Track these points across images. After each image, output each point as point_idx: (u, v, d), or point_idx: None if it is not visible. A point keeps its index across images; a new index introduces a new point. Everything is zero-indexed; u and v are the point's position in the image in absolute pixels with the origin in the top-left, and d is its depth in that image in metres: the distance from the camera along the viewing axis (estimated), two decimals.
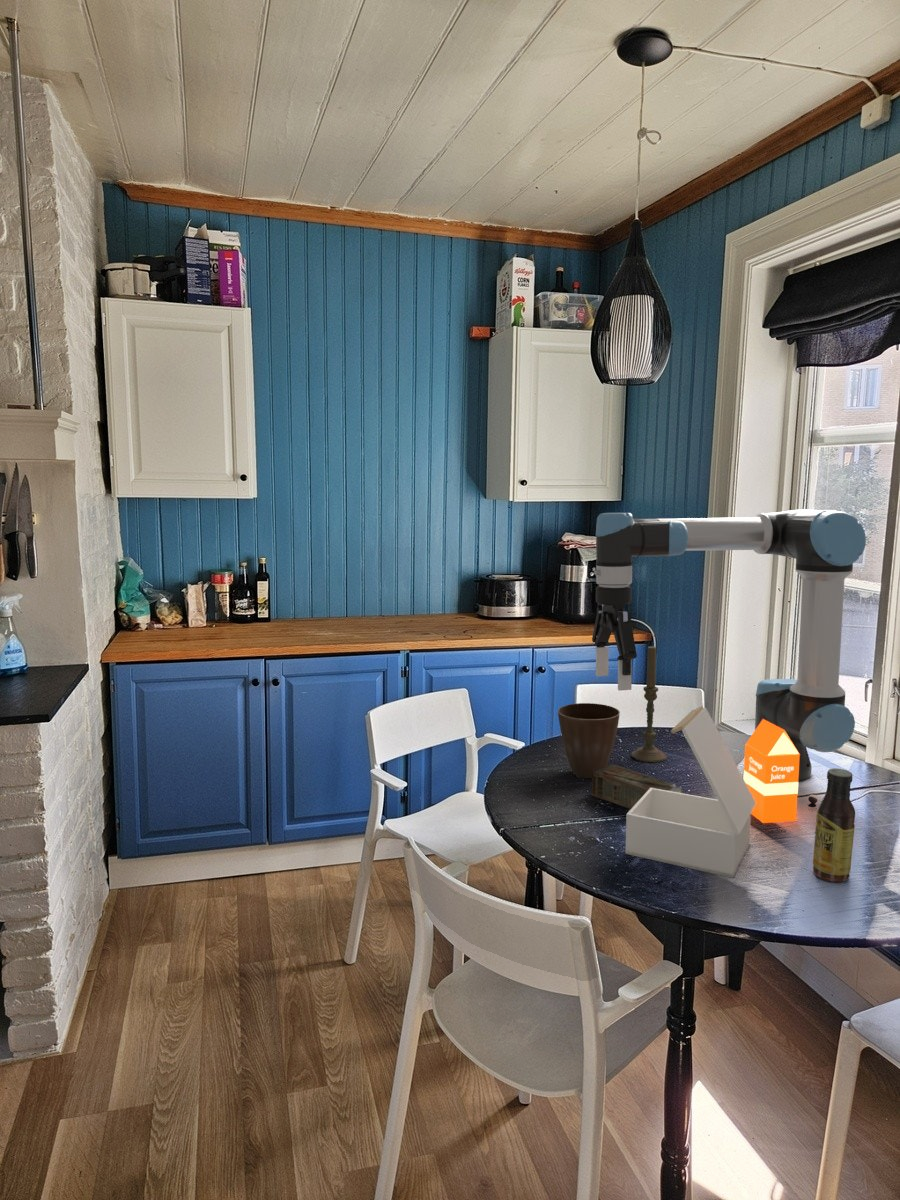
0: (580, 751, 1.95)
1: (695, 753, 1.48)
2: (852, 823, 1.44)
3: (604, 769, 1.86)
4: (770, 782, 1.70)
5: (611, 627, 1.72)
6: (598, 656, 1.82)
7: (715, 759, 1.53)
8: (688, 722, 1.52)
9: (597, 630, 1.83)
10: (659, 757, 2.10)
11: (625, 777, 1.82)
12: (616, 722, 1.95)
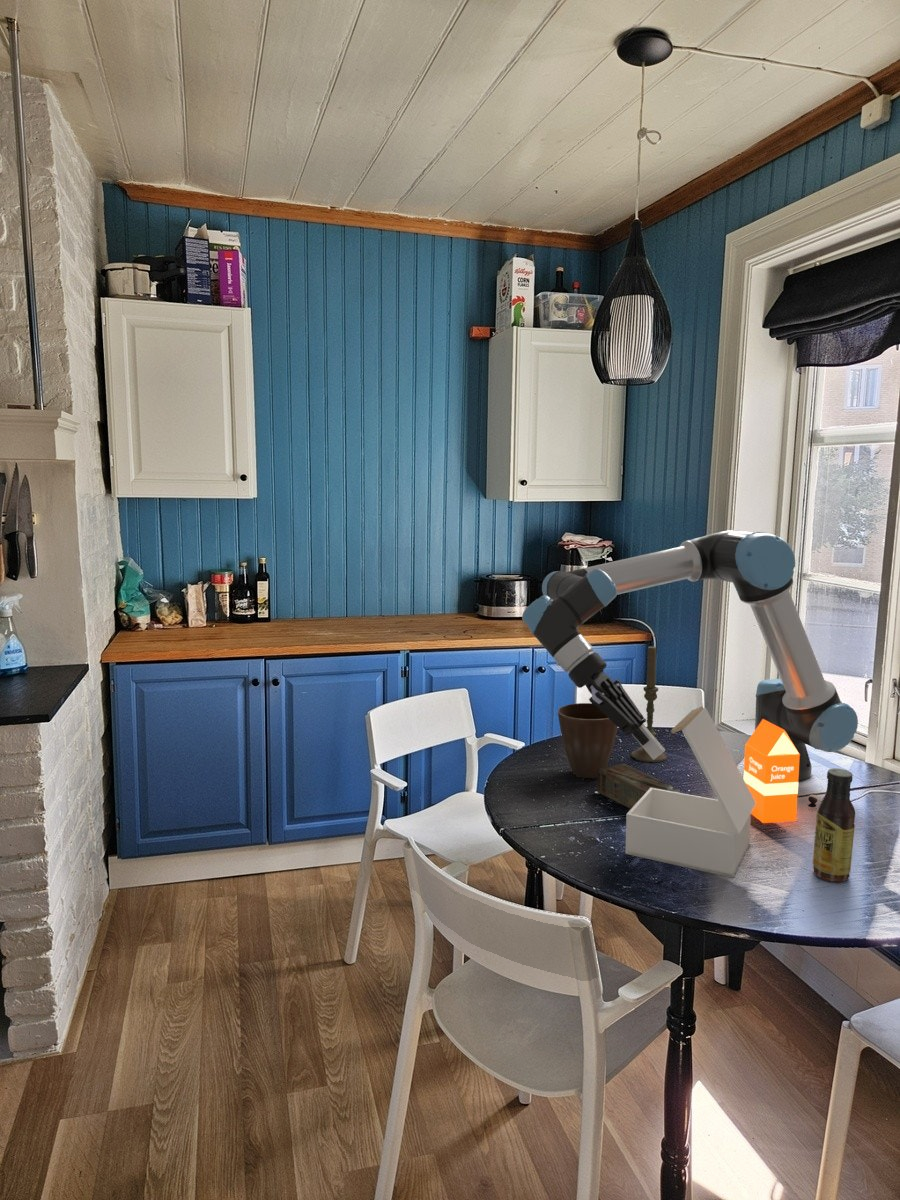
0: (580, 751, 1.95)
1: (695, 753, 1.48)
2: (852, 823, 1.44)
3: (610, 767, 1.88)
4: (770, 782, 1.70)
5: None
6: None
7: (715, 759, 1.53)
8: (688, 722, 1.52)
9: None
10: (659, 757, 2.10)
11: (627, 776, 1.83)
12: None
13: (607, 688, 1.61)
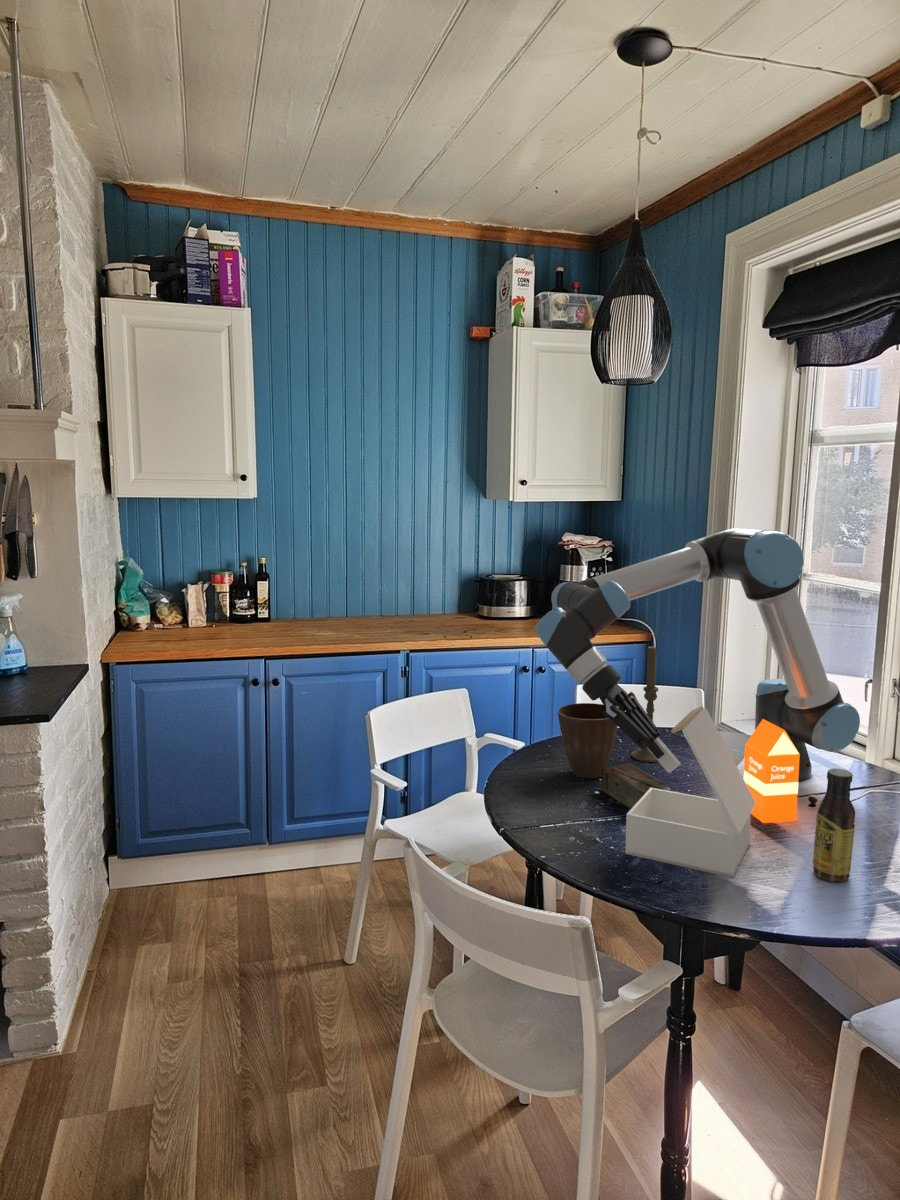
0: (580, 751, 1.95)
1: (695, 753, 1.48)
2: (852, 823, 1.44)
3: (615, 766, 1.89)
4: (770, 782, 1.70)
5: None
6: None
7: (715, 759, 1.53)
8: (688, 722, 1.52)
9: None
10: None
11: (628, 775, 1.83)
12: None
13: (621, 701, 1.60)
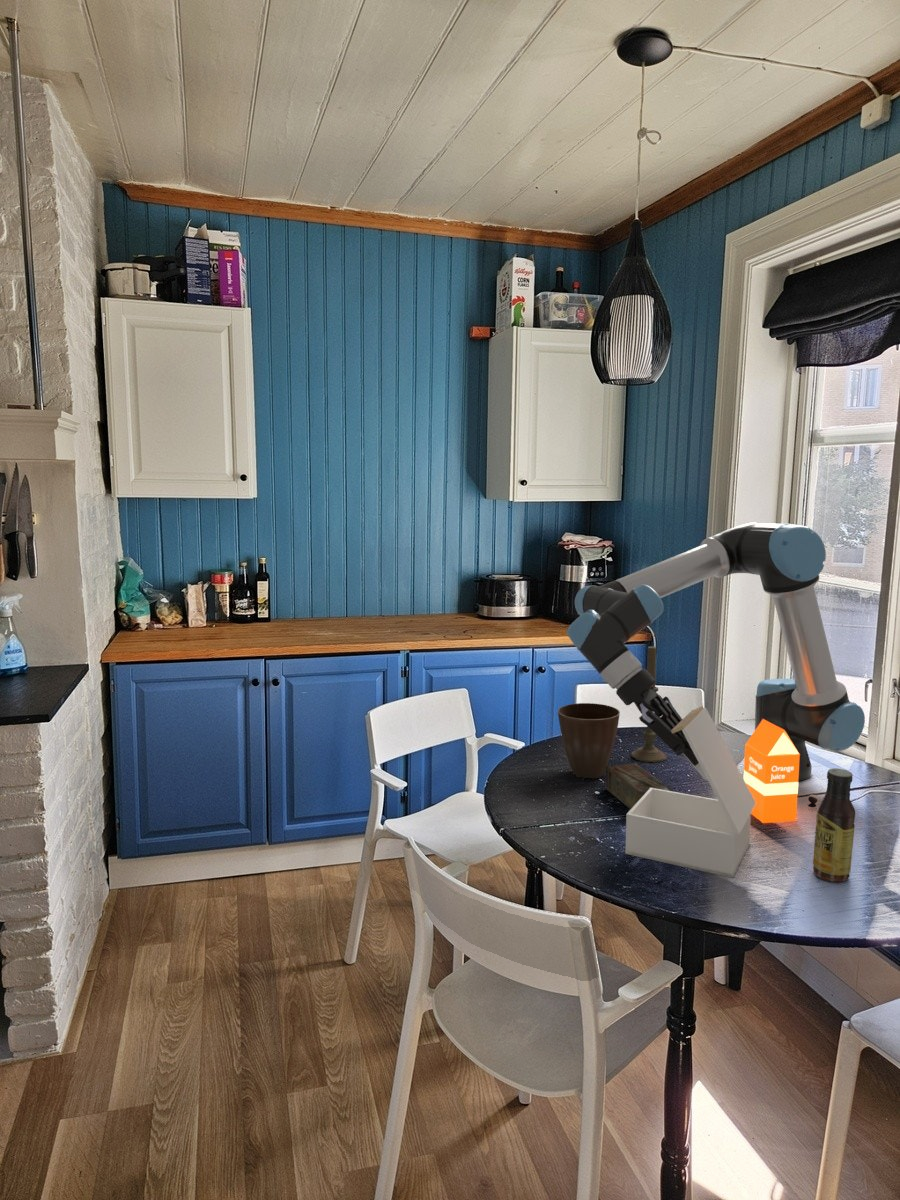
0: (580, 751, 1.95)
1: (695, 753, 1.48)
2: (852, 823, 1.44)
3: (619, 765, 1.89)
4: (770, 782, 1.70)
5: None
6: None
7: (715, 759, 1.53)
8: (688, 722, 1.52)
9: None
10: (659, 757, 2.10)
11: (629, 775, 1.83)
12: (616, 722, 1.95)
13: (657, 706, 1.56)
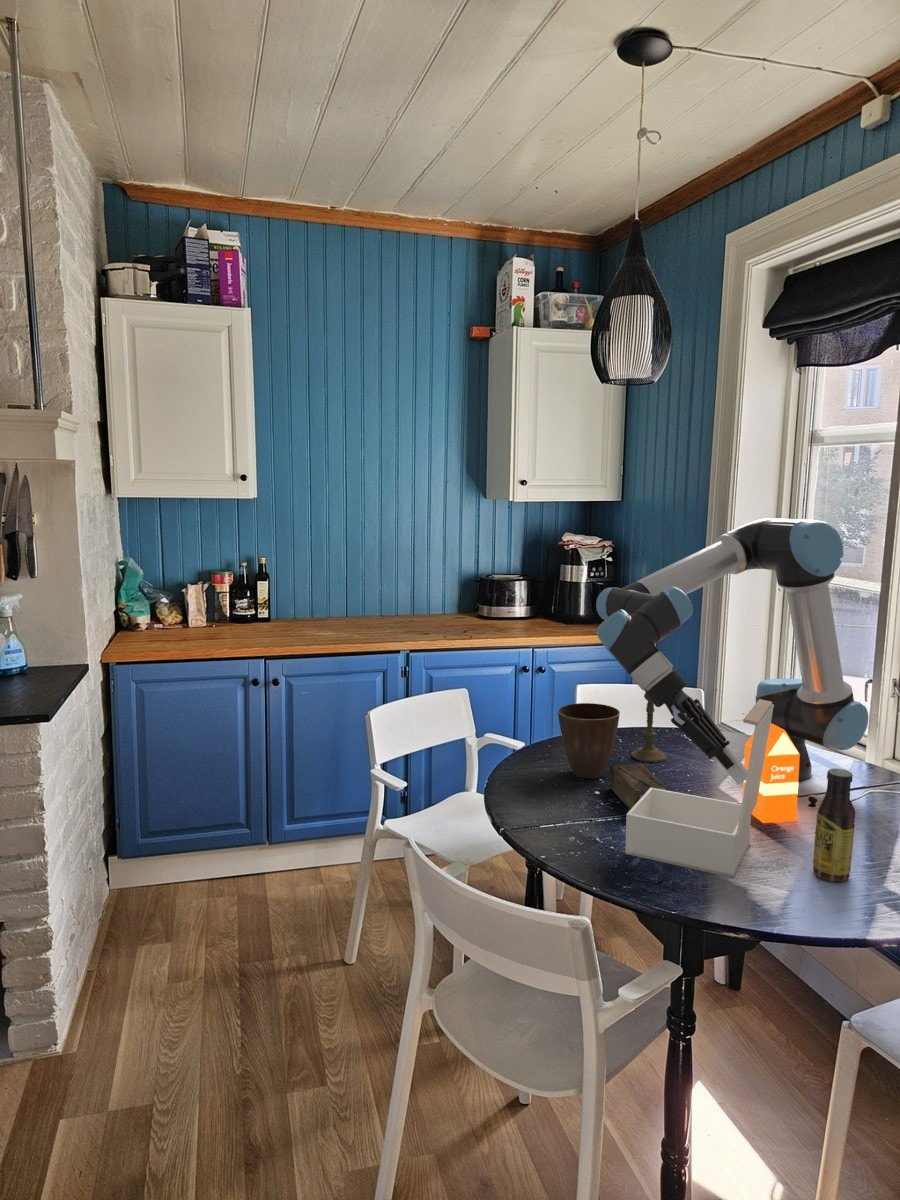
0: (580, 751, 1.95)
1: (752, 751, 1.43)
2: (852, 823, 1.44)
3: (624, 765, 1.89)
4: (770, 782, 1.70)
5: None
6: None
7: (758, 759, 1.49)
8: (761, 718, 1.45)
9: None
10: (659, 757, 2.10)
11: (631, 775, 1.83)
12: (616, 722, 1.95)
13: (689, 708, 1.53)
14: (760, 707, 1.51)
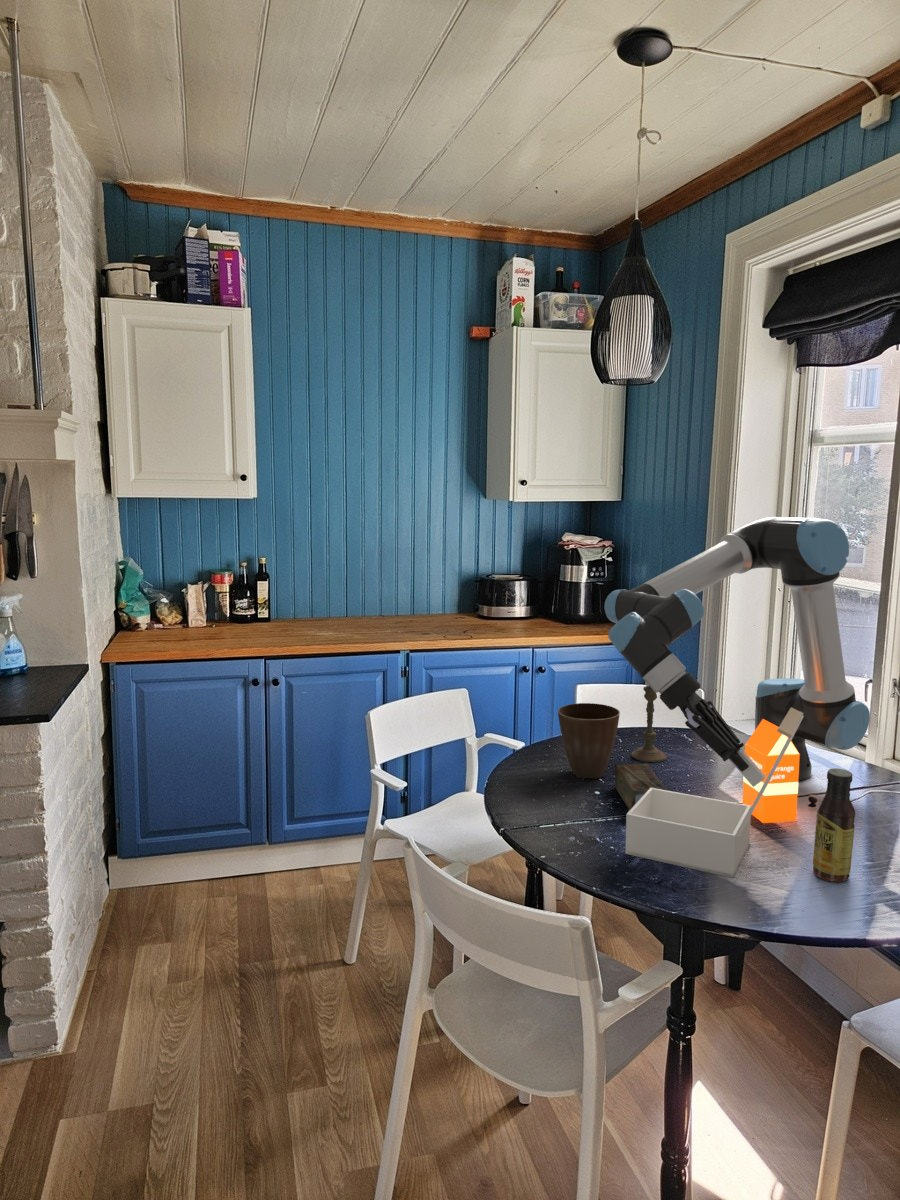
0: (580, 751, 1.95)
1: (777, 762, 1.41)
2: (852, 823, 1.44)
3: (628, 764, 1.89)
4: (770, 782, 1.70)
5: None
6: None
7: None
8: (793, 731, 1.43)
9: None
10: (659, 757, 2.10)
11: (633, 774, 1.83)
12: (616, 722, 1.95)
13: (703, 711, 1.52)
14: (792, 717, 1.48)
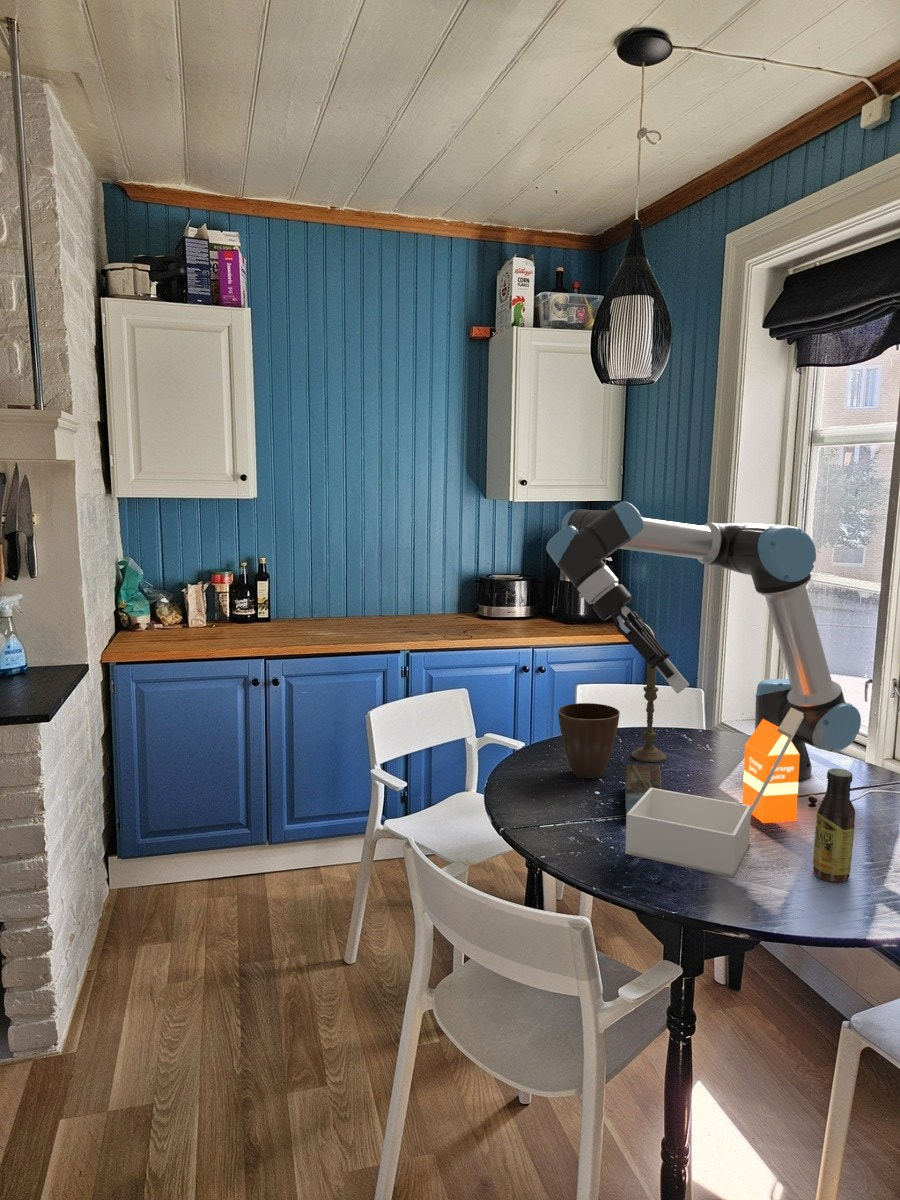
0: (580, 751, 1.95)
1: (777, 762, 1.41)
2: (852, 823, 1.44)
3: (638, 764, 1.89)
4: (770, 782, 1.70)
5: None
6: (664, 673, 1.58)
7: None
8: (794, 731, 1.43)
9: None
10: (659, 757, 2.10)
11: (637, 774, 1.84)
12: (616, 722, 1.95)
13: (633, 619, 1.58)
14: (792, 717, 1.48)
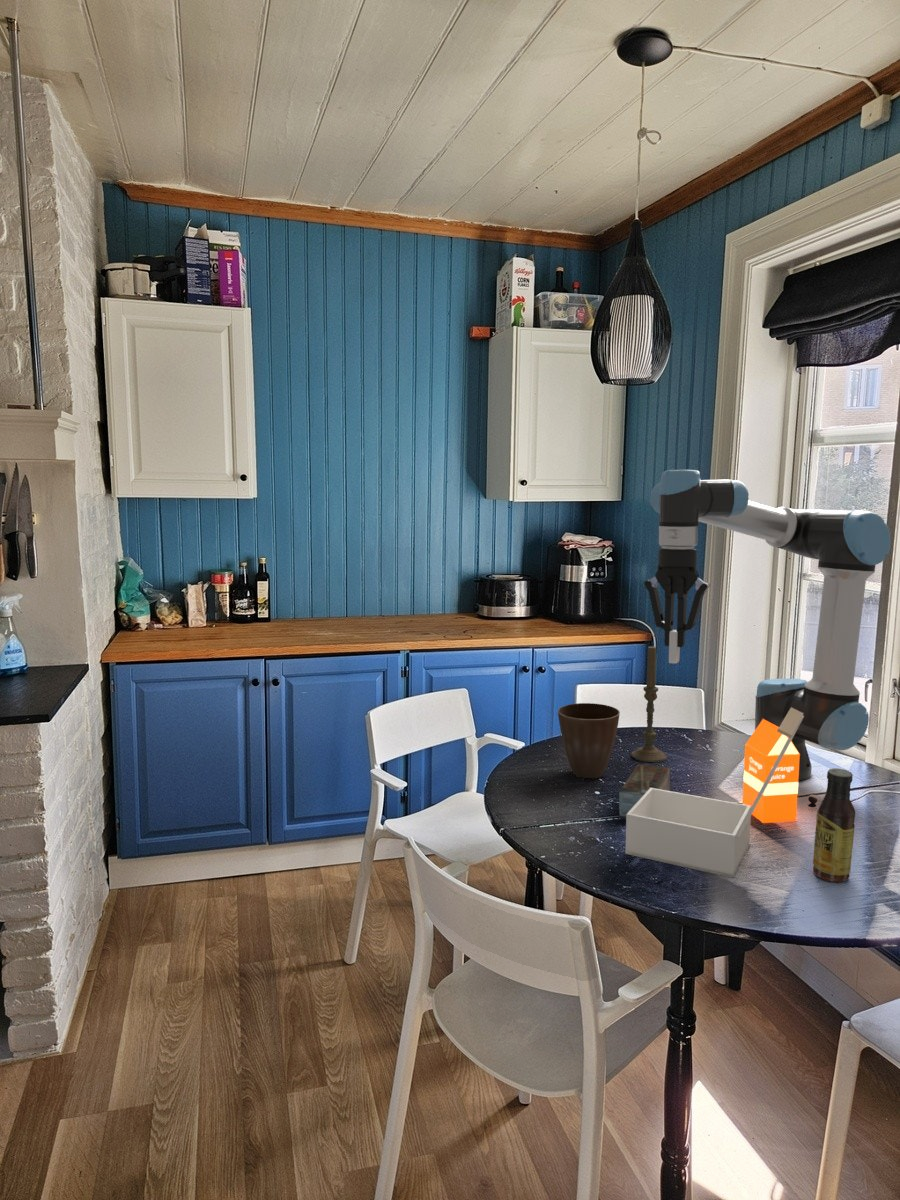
0: (580, 751, 1.95)
1: (777, 762, 1.41)
2: (852, 823, 1.44)
3: (648, 765, 1.89)
4: (770, 782, 1.70)
5: (681, 594, 1.63)
6: None
7: None
8: (794, 731, 1.43)
9: (658, 609, 1.67)
10: (659, 757, 2.10)
11: (640, 774, 1.84)
12: (616, 722, 1.95)
13: None
14: (792, 717, 1.48)
